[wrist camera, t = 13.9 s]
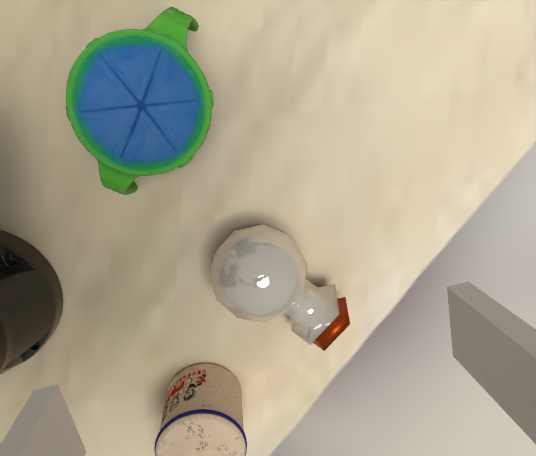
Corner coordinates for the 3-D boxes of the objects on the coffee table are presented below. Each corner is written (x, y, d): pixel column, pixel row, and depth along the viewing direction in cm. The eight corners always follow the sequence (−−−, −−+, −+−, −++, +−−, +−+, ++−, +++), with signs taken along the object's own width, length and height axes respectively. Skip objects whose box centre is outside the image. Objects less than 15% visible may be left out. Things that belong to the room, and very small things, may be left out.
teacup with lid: (199, 345, 50) (192, 417, 38) (258, 387, 52) (268, 466, 41) (134, 416, 51) (109, 504, 40) (194, 453, 54) (187, 546, 43)
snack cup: (145, -5, 39) (119, -39, 29) (246, 60, 41) (254, 48, 32) (71, 147, 42) (26, 162, 32) (170, 200, 44) (156, 228, 35)
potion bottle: (222, 213, 47) (319, 285, 52) (177, 292, 43) (286, 361, 48) (268, 195, 39) (375, 281, 45) (218, 289, 35) (343, 371, 41)
